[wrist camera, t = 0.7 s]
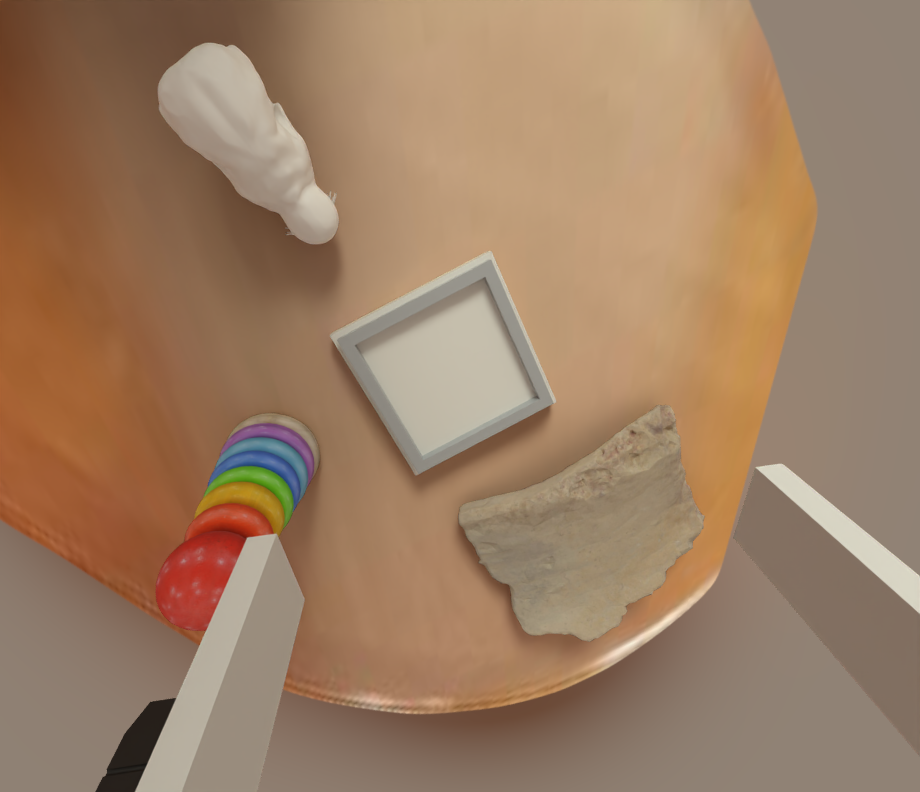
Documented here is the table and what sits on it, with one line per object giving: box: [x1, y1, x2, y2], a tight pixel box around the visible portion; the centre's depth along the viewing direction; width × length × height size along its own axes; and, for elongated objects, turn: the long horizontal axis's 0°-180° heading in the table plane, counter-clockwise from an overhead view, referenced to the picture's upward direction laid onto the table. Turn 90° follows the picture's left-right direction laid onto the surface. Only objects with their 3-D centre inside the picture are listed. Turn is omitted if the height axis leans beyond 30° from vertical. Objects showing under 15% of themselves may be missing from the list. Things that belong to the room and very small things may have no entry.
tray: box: [330, 251, 556, 475], centre depth 38 cm, size 15×15×2 cm
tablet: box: [458, 405, 705, 642], centre depth 44 cm, size 24×8×20 cm
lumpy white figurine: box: [158, 43, 339, 244], centre depth 28 cm, size 6×8×12 cm
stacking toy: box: [156, 413, 320, 631], centre depth 30 cm, size 8×8×19 cm
